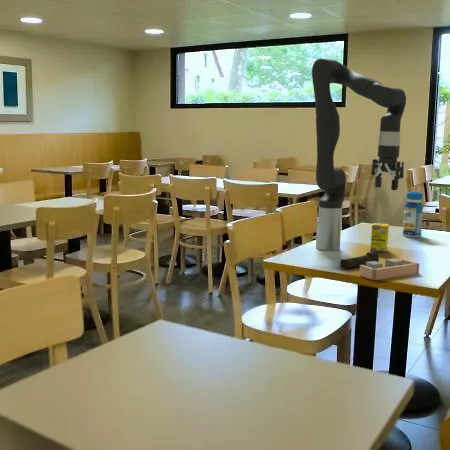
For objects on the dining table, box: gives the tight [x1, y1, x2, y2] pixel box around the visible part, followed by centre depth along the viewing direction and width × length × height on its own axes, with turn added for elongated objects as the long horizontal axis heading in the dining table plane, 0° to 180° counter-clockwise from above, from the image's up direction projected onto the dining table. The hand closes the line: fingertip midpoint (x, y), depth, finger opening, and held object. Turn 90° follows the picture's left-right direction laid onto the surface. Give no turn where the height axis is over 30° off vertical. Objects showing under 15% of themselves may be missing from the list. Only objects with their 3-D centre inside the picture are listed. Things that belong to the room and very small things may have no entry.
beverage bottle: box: [402, 191, 424, 238], centre depth 261 cm, size 8×8×20 cm
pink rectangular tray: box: [359, 258, 420, 281], centre depth 194 cm, size 7×20×4 cm, turn 117°
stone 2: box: [384, 258, 402, 267], centre depth 199 cm, size 4×4×4 cm
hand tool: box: [339, 251, 380, 271], centre depth 205 cm, size 19×4×5 cm, turn 124°
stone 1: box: [364, 261, 384, 269], centre depth 195 cm, size 4×4×4 cm
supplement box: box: [369, 222, 390, 254], centre depth 229 cm, size 6×6×11 cm
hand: (386, 188), depth 210 cm, fingers open, 8 cm apart
